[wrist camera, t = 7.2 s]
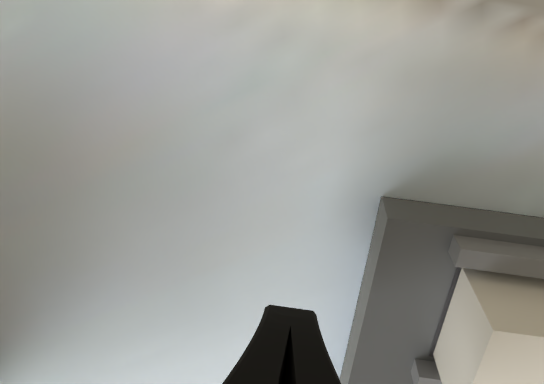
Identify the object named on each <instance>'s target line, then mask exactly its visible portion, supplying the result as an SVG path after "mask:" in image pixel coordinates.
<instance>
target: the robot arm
mask: <svg viewBox="0 0 544 384" xmlns="http://www.w3.org/2000/svg"><path fill="white" fill-rule="evenodd" d="M222 384H341V382H340V380H339V378H338V376H337V373H336V371H335V369H334V366H333V364H332V362H331V359H330V357H329V354H328V352H327V349H326V347H325V344H324V341H323V338H322V335H321V332H320V329H319V325H318V321H317V316H316V314H315V313H314V312H313V311H310V310H303V309H296V308H289V307H281V306H274V305H269V306H267V307H265V310H264V314H263V317H262V319H261V322H260V324H259V326H258V328H257V330H256V332H255V334H254V336H253V338H252V340H251V341H250V343H249V345H248V346H247V348H246V350H245V351H244V353H243V355H242V356H241V358H240V359H239V361H238V362H237V364H236V365H235V367H234V368H233V369H232V371H231V372H230V374H229V375H228V377H227V378H226V379H225V381H224V382H223V383H222Z"/></svg>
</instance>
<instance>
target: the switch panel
mask: <svg viewBox="0 0 544 384" xmlns="http://www.w3.org/2000/svg"><path fill="white" fill-rule="evenodd" d="M462 268H467V269H475V270H482V271H489V272H497V273H504V274H511V275H519V276H526V277H533V278H541V279H544V218H540V217H532V216H525V215H517V214H509V213H502V212H494V211H487V210H479V209H472V208H464V207H456V206H449V205H441V204H434V203H426V202H418V201H411V200H403V199H396V198H388V197H381V200H380V205H379V209H378V213H377V218H376V222H375V227H374V231H373V235H372V240H371V244H370V249H369V253H368V257H367V262H366V266H365V271H364V275H363V279H362V284H361V288H360V293H359V297H358V301H357V306H356V310H355V315H354V319H353V323H352V328H351V332H350V337H349V341H348V345H347V350H346V354H345V359H344V363H343V367H342V372H341V376H340V382H341V384H442V382H441V379H440V375H439V372H438V369H437V365H436V362H435V359H434V356H433V353H434V350H435V347H436V344H437V341H438V338H439V335H440V332H441V329H442V326H443V323H444V320H445V317H446V314H447V311H448V308H449V305H450V302H451V299H452V296H453V293H454V290H455V287H456V284H457V281H458V278H459V275H460V272H461V269H462Z"/></svg>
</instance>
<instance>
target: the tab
mask: <svg viewBox="0 0 544 384" xmlns="http://www.w3.org/2000/svg"><path fill="white" fill-rule="evenodd" d="M433 356H434V359H435V362H436V365H437V369H438V372H439V375H440V379H441V382H442V384H544V279H541V278H533V277H526V276H519V275H511V274H504V273H497V272H489V271H482V270H475V269H467V268H462V269H461V272H460V275H459V278H458V281H457V284H456V287H455V290H454V293H453V296H452V299H451V302H450V305H449V308H448V311H447V314H446V317H445V320H444V323H443V326H442V329H441V332H440V335H439V338H438V341H437V344H436V347H435V350H434V353H433Z"/></svg>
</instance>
